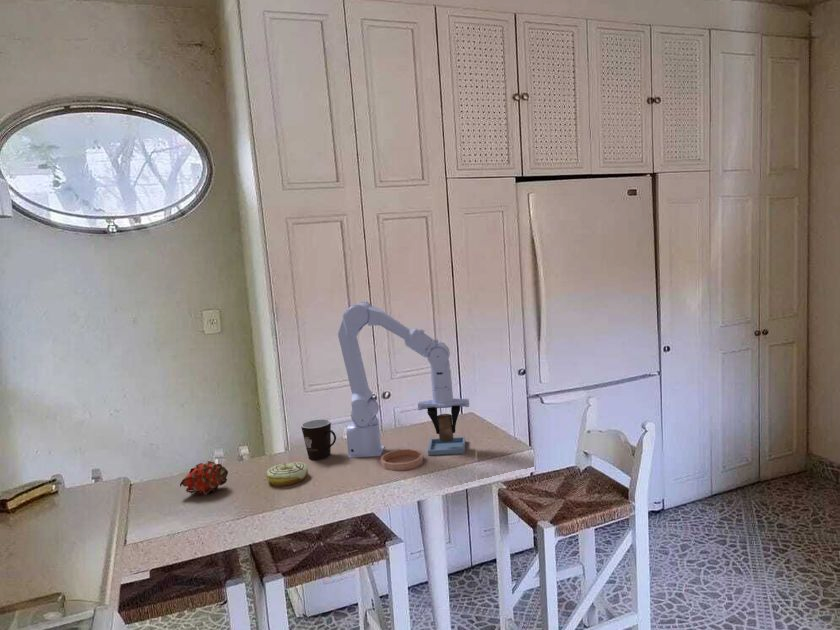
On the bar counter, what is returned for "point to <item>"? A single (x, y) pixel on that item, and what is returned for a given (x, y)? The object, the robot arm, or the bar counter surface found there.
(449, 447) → the slate tray
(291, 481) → the decorated donut
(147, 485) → the bar counter surface
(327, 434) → the coffee mug
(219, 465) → the dragon fruit
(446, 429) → the walnut cylinder
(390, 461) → the terracotta bowl
